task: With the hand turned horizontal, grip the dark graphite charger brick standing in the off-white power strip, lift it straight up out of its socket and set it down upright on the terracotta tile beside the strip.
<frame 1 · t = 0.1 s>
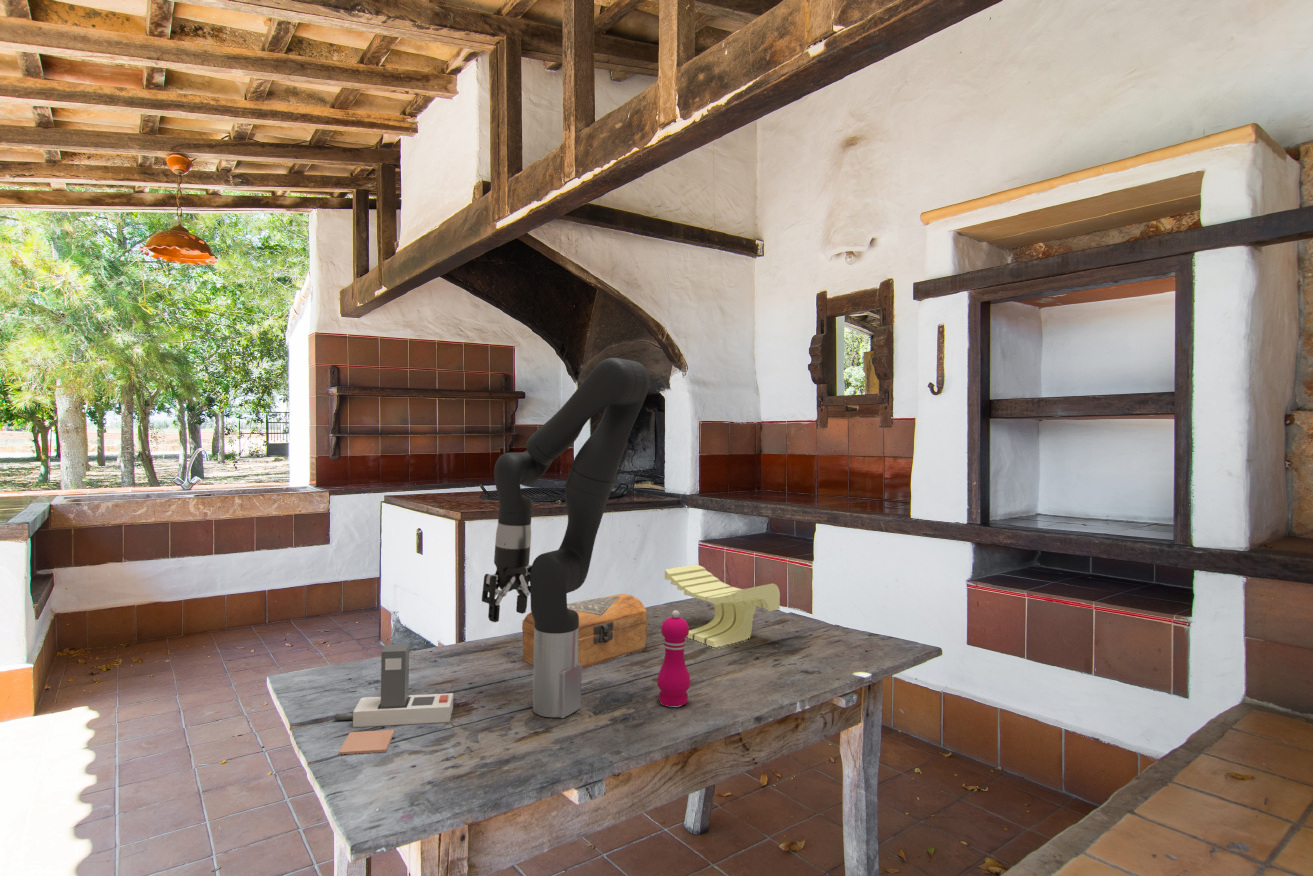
hand: (507, 616, 150), 17 cm above the table, tool pointing down, fingers open, 8 cm apart
wooden box: (587, 657, 177), on the table
charger: (394, 707, 138), point 2 cm above the table, touching power strip
pepper mill: (673, 703, 149), on the table
power strip: (404, 717, 138), on the table
slatted curved stool: (718, 638, 195), on the table
tile coaster: (367, 743, 127), on the table
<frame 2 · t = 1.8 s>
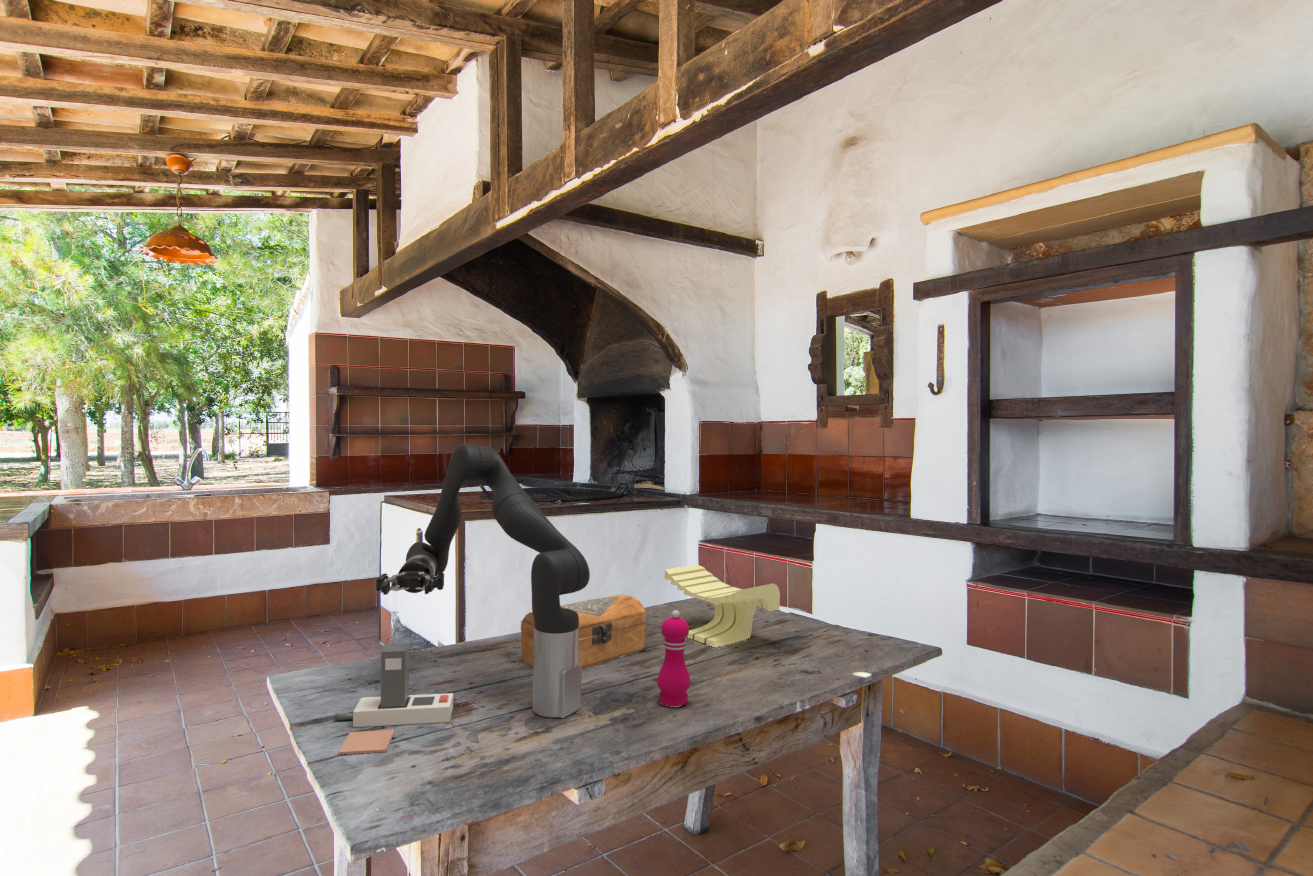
hand: (405, 589, 148), 23 cm above the table, tool horizontal, fingers open, 8 cm apart
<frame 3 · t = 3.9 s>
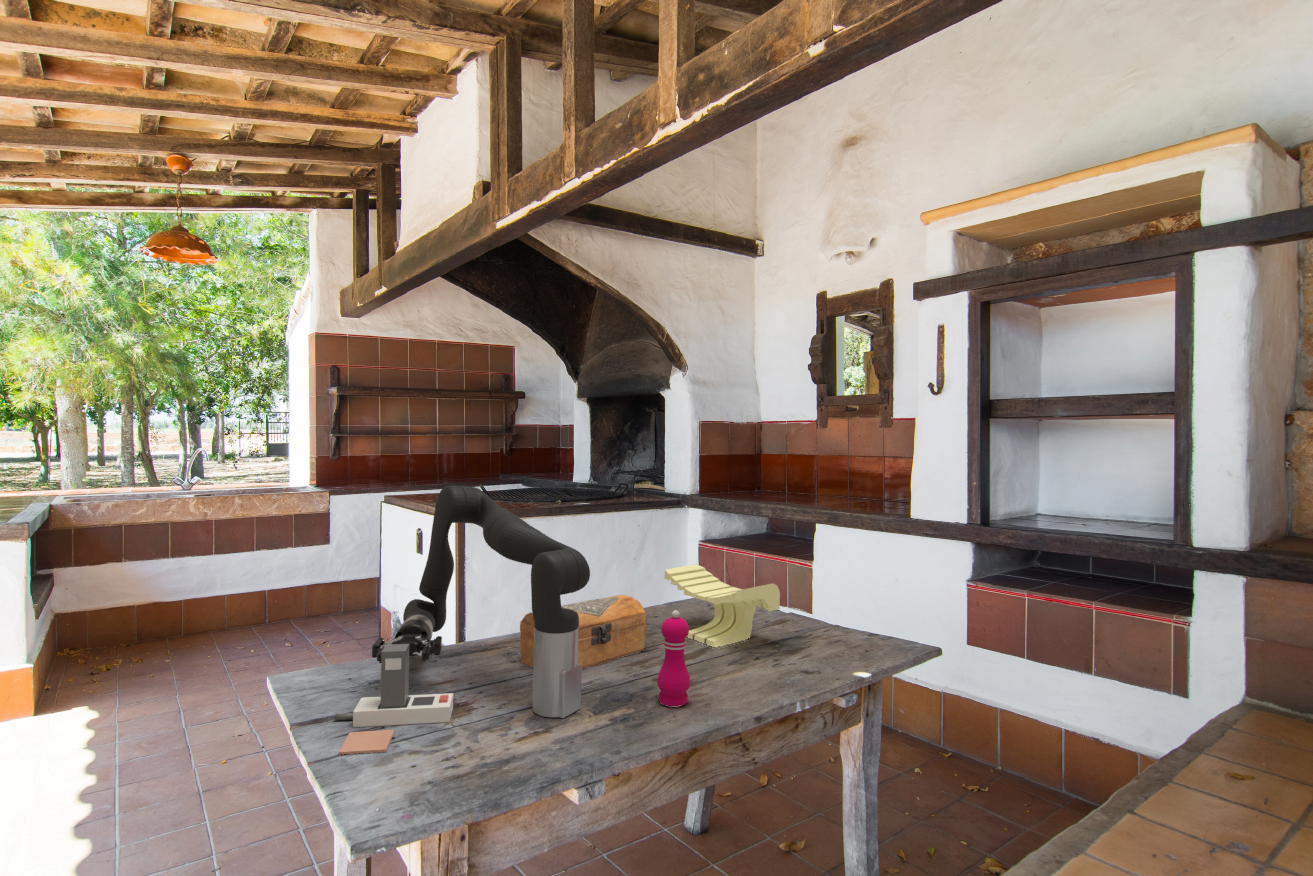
hand: (402, 657, 145), 9 cm above the table, tool horizontal, fingers open, 8 cm apart
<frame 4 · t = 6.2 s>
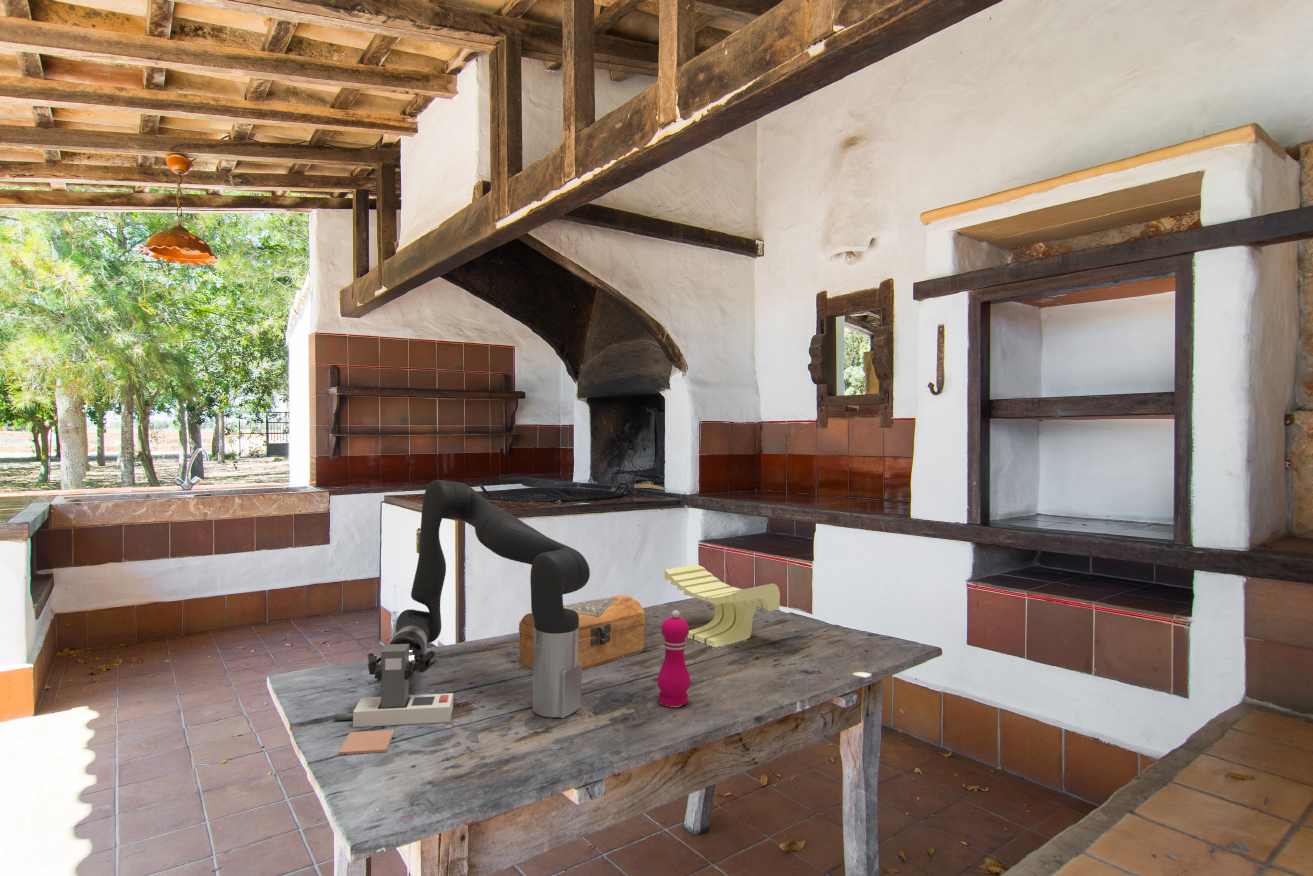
hand: (392, 675, 135), 9 cm above the table, tool horizontal, fingers closed on charger, 4 cm apart
charger: (394, 707, 138), point 2 cm above the table, touching gripper, power strip
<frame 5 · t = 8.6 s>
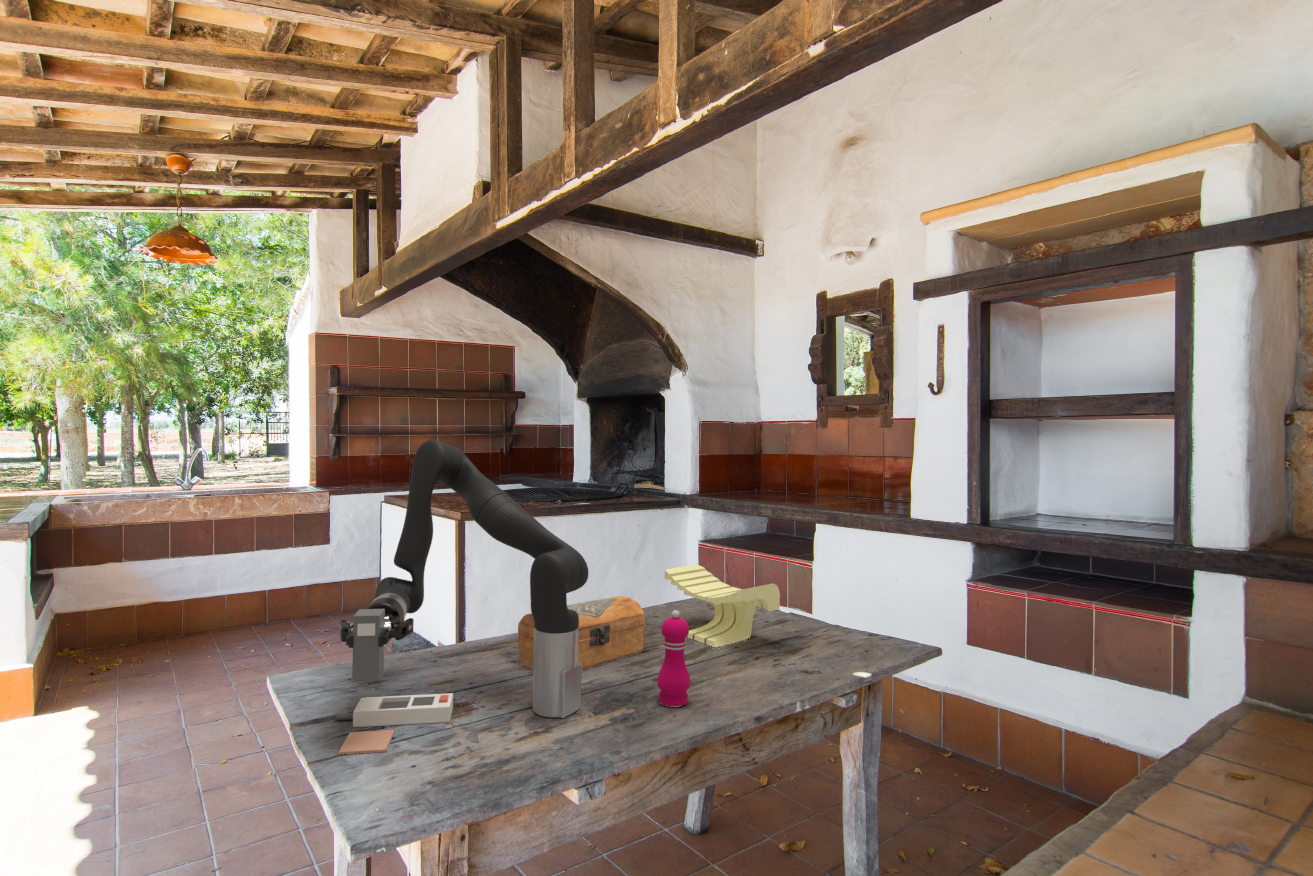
hand: (365, 642, 124), 20 cm above the table, tool horizontal, fingers closed on charger, 4 cm apart
charger: (368, 677, 126), point 12 cm above the table, touching gripper
when the fingers open (9 cm above the table, at t = 10.8 s): charger drops 1 cm, resting on tile coaster.
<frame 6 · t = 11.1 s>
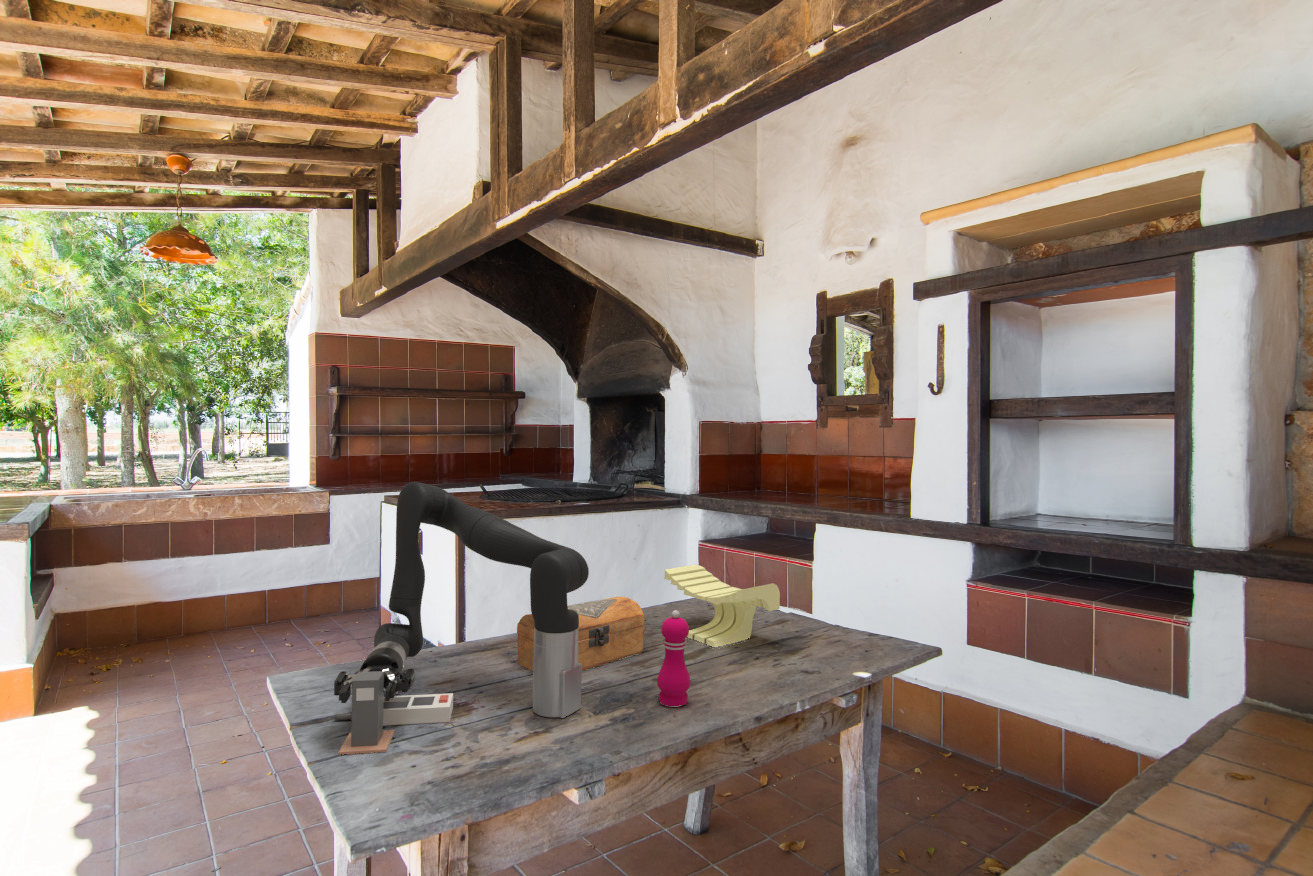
hand: (365, 696, 124), 9 cm above the table, tool horizontal, fingers open, 7 cm apart
charger: (367, 740, 127), resting on tile coaster
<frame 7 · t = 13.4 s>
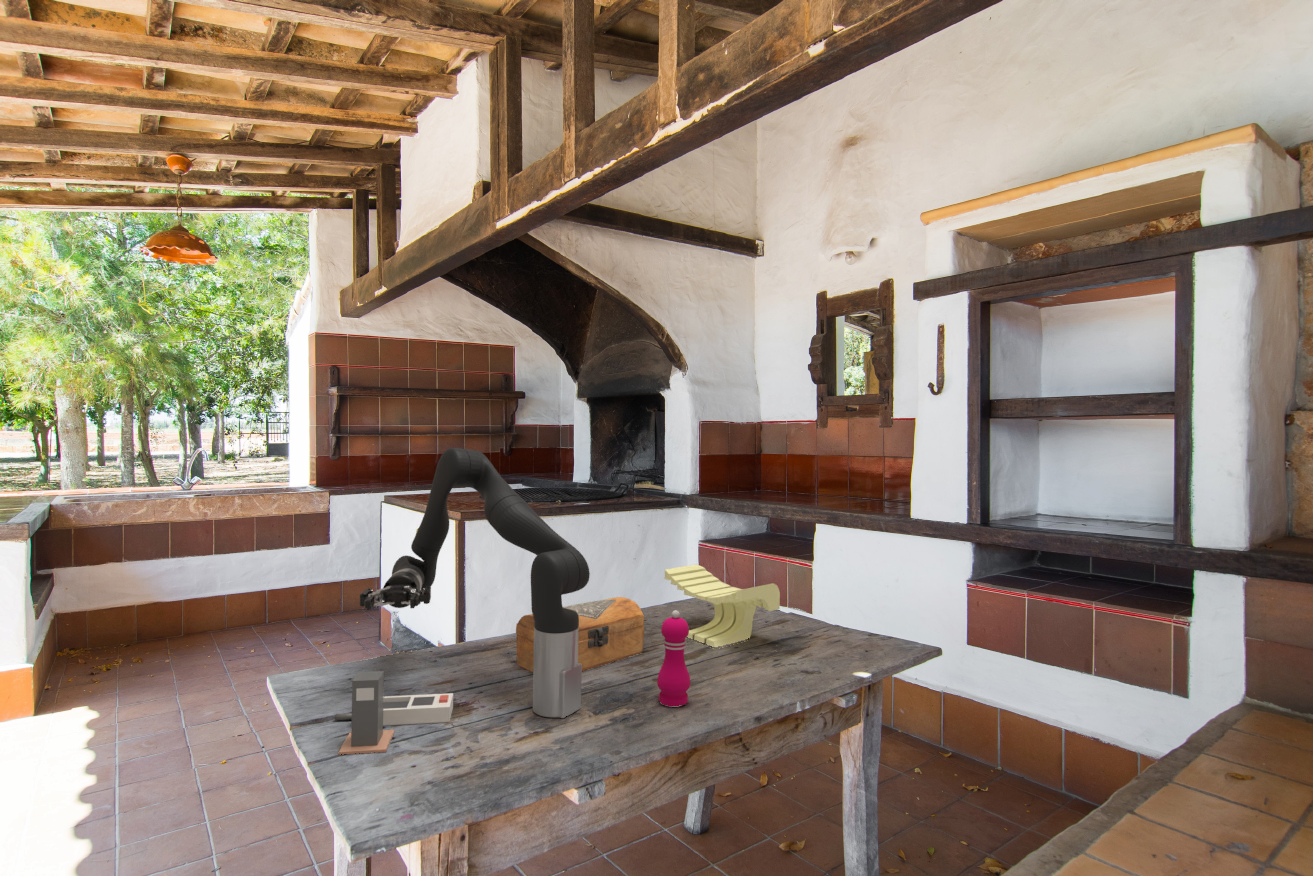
hand: (390, 604, 143), 21 cm above the table, tool horizontal, fingers open, 8 cm apart
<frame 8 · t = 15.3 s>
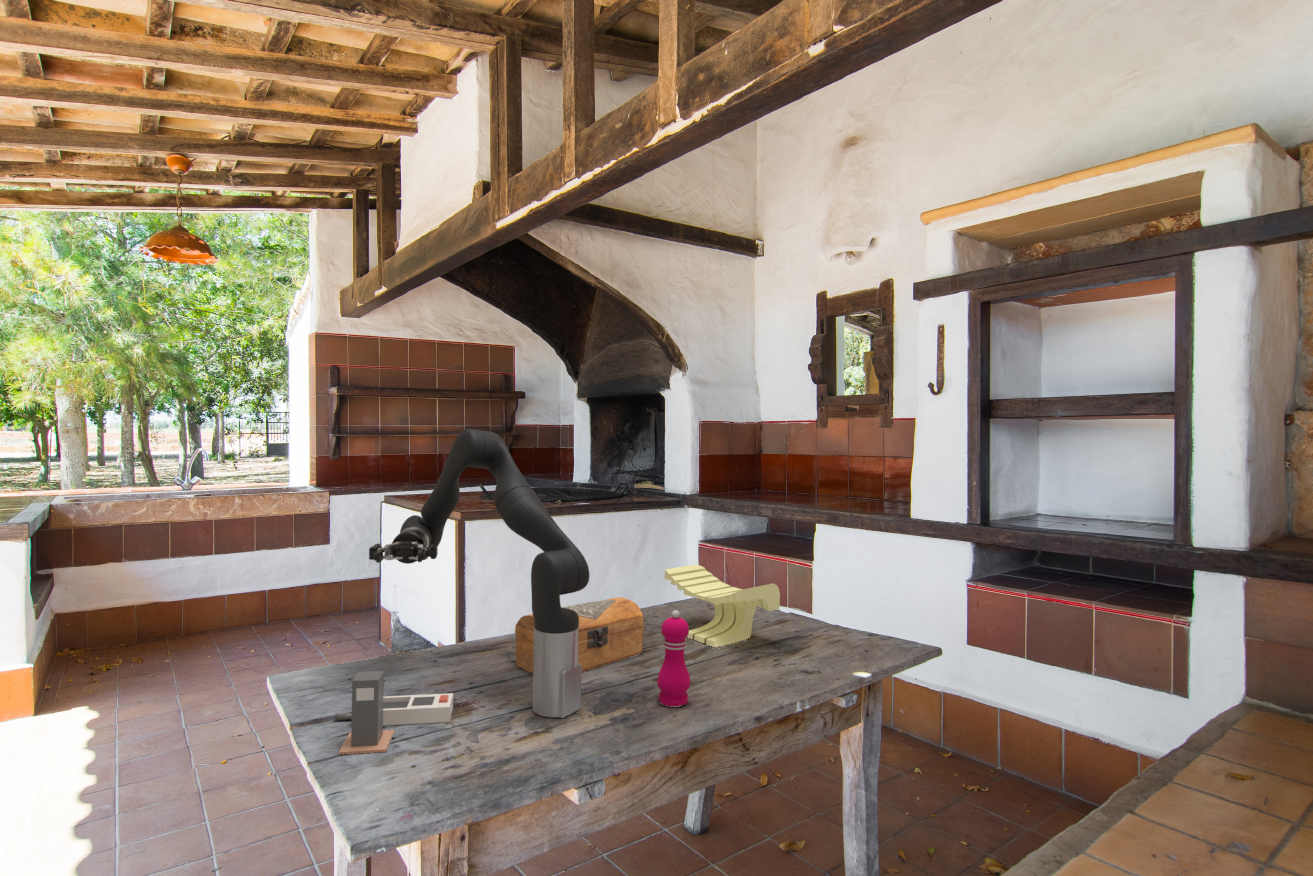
hand: (398, 557, 148), 30 cm above the table, tool horizontal, fingers open, 8 cm apart
at the end: charger inside the target area on the tile coaster (0.1 cm from its centre), point 0.5 cm above the tile coaster's base; charger tilted 0°; charger touching tile coaster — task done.
